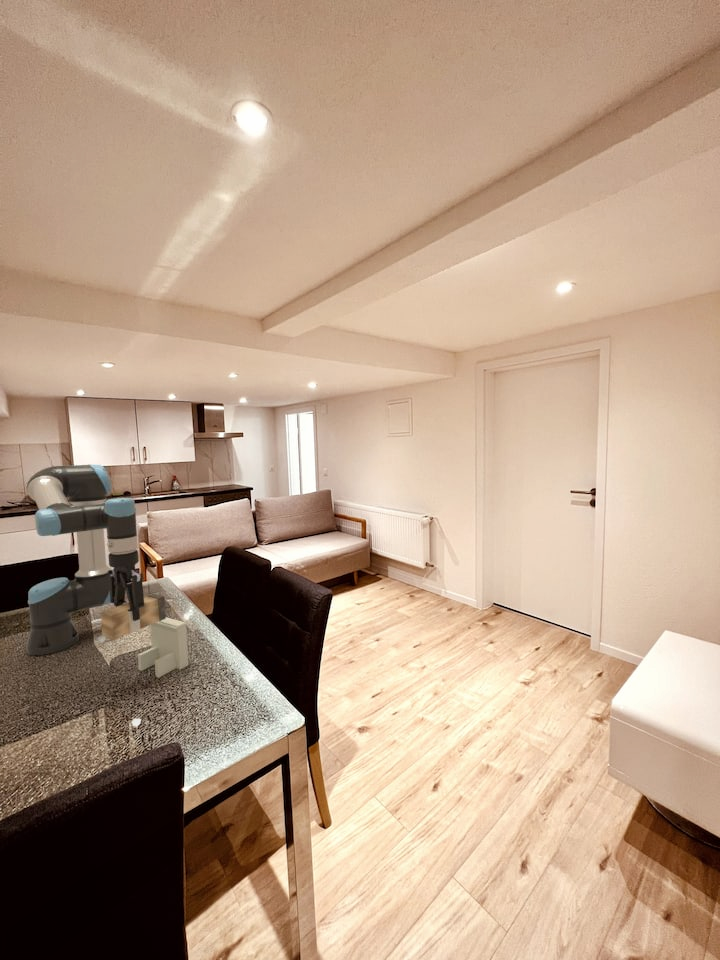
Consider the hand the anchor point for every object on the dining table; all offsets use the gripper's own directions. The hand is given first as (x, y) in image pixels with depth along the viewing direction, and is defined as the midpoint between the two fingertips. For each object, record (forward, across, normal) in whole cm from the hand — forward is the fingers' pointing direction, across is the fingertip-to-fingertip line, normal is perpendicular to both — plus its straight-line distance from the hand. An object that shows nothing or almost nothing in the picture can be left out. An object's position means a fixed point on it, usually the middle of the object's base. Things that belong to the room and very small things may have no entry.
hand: (128, 628), depth 119 cm
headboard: (+16, 0, +10) cm, 19 cm away
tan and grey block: (0, 0, +2) cm, 2 cm away
